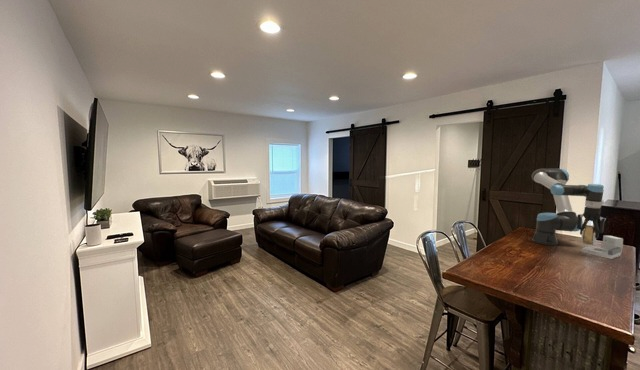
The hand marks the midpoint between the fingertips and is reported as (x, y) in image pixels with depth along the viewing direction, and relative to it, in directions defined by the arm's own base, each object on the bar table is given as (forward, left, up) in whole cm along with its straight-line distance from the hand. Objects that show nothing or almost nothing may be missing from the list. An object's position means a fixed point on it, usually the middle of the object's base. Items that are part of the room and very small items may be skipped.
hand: (588, 240), depth 176 cm
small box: (+4, +27, -10) cm, 29 cm away
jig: (+3, +13, -10) cm, 16 cm away
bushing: (0, 0, -2) cm, 2 cm away
